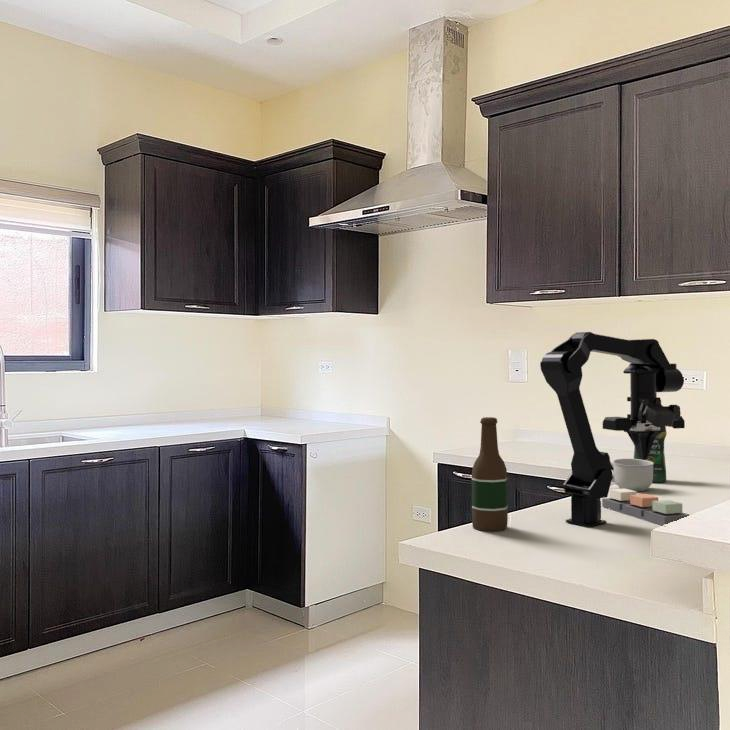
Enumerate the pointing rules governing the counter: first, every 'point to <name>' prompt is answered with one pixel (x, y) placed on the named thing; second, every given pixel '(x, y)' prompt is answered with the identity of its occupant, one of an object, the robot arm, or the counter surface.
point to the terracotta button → (642, 500)
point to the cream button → (621, 494)
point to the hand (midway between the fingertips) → (643, 459)
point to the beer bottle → (489, 482)
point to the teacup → (632, 474)
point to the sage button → (667, 506)
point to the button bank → (642, 511)
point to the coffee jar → (657, 457)
